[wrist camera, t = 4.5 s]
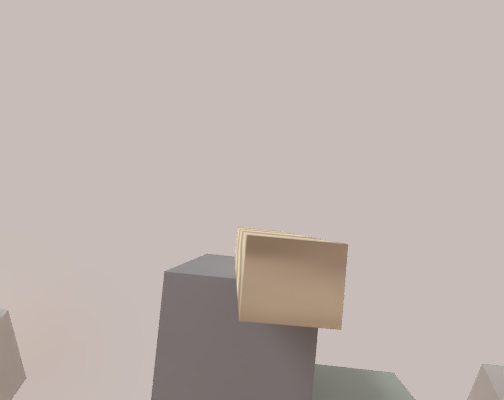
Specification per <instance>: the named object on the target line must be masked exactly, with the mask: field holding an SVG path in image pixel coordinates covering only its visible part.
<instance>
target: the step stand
mask: <svg viewBox="0 0 504 400" xmlns="http://www.w3.org/2000/svg"><path fill="white" fill-rule="evenodd" d="M317 332H318V328H315V327H303V326H291V325H280V324H268V323H256V322H244V321H239V312H238V298H237V284H236V270H235V257H232V256H222V255H212V254H206V255H203V256H201V257H198V258H196V259H193V260H191V261H189V262H186V263H184V264H182V265H179V266H177V267H174V268H172V269H170V270H167V271H165V273H164V283H163V292H162V301H161V311H160V320H159V330H158V340H157V350H156V360H155V368H154V379H153V389H152V397H151V400H415V399H414V397H413V396H412V395H411V394H410V392H409V391H408V390H407V389H406V388H405V386H404V385H403V384H402V383H401V381H400V380H399V379H398V378H397V377H396V375H395V374H394V373H390V372H382V371H373V370H363V369H354V368H345V367H336V366H327V365H318V364H315V356H316V344H317Z"/></svg>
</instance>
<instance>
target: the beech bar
mask: <svg viewBox="0 0 504 400" xmlns="http://www.w3.org/2000/svg"><path fill="white" fill-rule="evenodd" d="M347 251H348V244H343V243H338V242H333V241H328V240H322V239H317V238H312V237H307V236H301V235H296V234H291V233H286V232H280V231H275V230H265V229H254V228H243V227H238V229H237V240H236V250H235V270H236V284H237V298H238V312H239V321H244V322H256V323H268V324H280V325H291V326H303V327H315V328H327V329H340V330H341V325H342V312H343V300H344V287H345V275H346V263H347Z"/></svg>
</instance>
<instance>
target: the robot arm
mask: <svg viewBox="0 0 504 400" xmlns="http://www.w3.org/2000/svg"><path fill="white" fill-rule="evenodd" d="M25 379H26V376H25V372H24V368H23V364H22V361H21V357H20V353H19V350H18V346H17V342H16V338H15V334H14V331H13V327H12V323H11V319H10V316H9V312H8V310H0V400H12V398H13V397H14V395H15V394H16V392H17V391H18V389H19V388H20V386H21V385H22V383H23V382H24V380H25ZM467 400H504V366H498V365H489V364H482V366H481V368H480V370H479V373H478V375H477V378H476V380H475V383H474V385H473V387H472V390H471V392H470V395H469V397H468V399H467Z"/></svg>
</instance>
